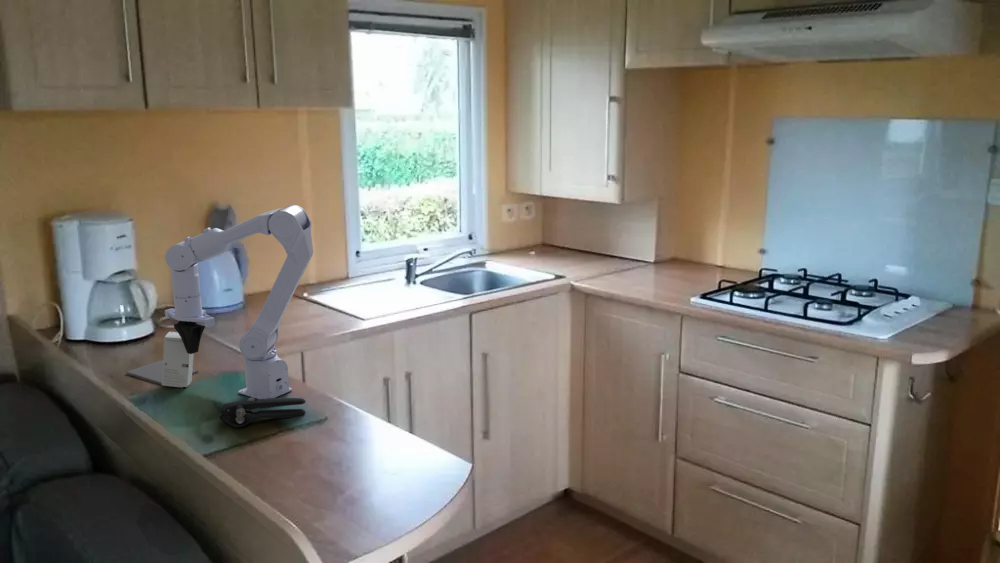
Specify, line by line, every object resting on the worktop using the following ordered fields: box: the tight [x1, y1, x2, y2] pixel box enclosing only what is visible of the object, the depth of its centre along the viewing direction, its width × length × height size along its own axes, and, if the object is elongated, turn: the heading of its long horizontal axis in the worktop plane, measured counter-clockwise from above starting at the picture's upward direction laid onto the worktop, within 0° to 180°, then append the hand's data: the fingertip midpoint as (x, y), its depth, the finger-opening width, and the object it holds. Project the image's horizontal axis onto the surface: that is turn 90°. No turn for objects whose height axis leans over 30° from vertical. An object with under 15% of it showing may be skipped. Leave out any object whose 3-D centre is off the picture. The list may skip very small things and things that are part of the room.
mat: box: [125, 359, 199, 385], centre depth 196 cm, size 14×10×1 cm
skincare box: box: [160, 331, 195, 388], centre depth 187 cm, size 6×4×12 cm
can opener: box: [218, 397, 307, 428], centre depth 169 cm, size 18×7×6 cm, turn 113°
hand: (192, 352), depth 183 cm, fingers closed
